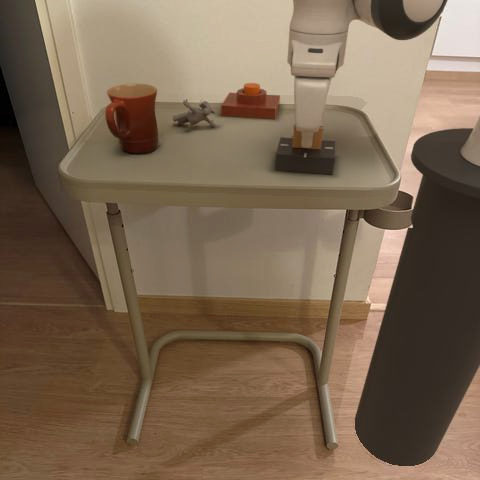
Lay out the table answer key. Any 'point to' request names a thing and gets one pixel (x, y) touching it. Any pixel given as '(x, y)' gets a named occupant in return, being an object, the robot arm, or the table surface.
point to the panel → (305, 158)
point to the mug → (133, 117)
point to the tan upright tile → (315, 142)
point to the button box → (250, 105)
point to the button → (251, 88)
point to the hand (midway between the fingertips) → (307, 140)
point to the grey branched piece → (195, 114)
